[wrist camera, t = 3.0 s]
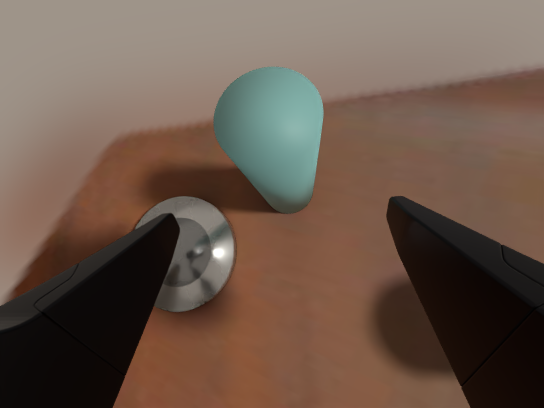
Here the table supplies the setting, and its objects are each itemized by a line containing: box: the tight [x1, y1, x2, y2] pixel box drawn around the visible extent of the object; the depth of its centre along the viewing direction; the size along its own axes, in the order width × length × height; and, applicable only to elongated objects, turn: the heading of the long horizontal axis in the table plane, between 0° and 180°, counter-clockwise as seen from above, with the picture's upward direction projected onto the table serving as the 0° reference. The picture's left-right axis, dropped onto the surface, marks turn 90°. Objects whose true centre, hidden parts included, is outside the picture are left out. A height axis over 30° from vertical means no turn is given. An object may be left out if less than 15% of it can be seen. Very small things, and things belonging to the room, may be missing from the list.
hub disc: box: [135, 196, 237, 312], centre depth 20 cm, size 10×10×1 cm
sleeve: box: [214, 67, 323, 214], centre depth 15 cm, size 4×4×12 cm
